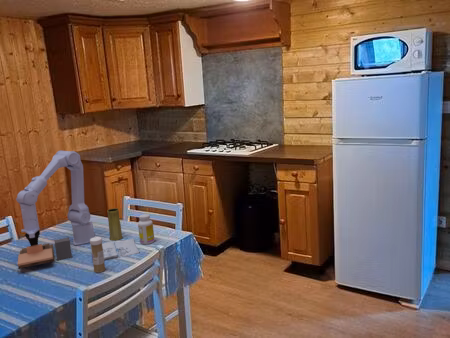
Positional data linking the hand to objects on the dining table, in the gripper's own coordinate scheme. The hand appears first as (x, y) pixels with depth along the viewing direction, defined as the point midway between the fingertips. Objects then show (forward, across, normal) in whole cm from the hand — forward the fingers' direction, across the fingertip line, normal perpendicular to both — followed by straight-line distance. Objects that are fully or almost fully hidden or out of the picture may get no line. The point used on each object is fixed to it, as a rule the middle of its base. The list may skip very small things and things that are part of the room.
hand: (35, 248), depth 181 cm
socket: (+5, -5, 0) cm, 7 cm away
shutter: (+2, +7, 0) cm, 7 cm away
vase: (+6, -8, +35) cm, 36 cm away
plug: (+5, +3, +11) cm, 13 cm away
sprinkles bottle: (+6, +25, +23) cm, 35 cm away
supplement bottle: (+6, +5, +47) cm, 48 cm away
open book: (+6, +7, +32) cm, 33 cm away
